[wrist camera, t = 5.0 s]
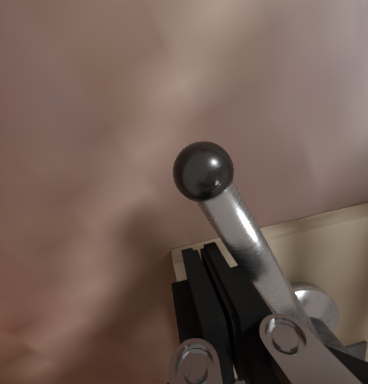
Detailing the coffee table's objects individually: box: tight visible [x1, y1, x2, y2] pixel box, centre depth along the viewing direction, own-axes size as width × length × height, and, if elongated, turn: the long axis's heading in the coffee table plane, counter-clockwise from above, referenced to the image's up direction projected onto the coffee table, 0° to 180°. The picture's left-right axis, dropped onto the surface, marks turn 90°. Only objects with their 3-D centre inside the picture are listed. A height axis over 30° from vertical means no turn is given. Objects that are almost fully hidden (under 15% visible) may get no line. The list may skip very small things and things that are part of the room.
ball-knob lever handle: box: [173, 141, 353, 356], centre depth 11 cm, size 23×6×4 cm, turn 32°
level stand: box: [171, 202, 368, 384], centre depth 16 cm, size 14×18×2 cm
